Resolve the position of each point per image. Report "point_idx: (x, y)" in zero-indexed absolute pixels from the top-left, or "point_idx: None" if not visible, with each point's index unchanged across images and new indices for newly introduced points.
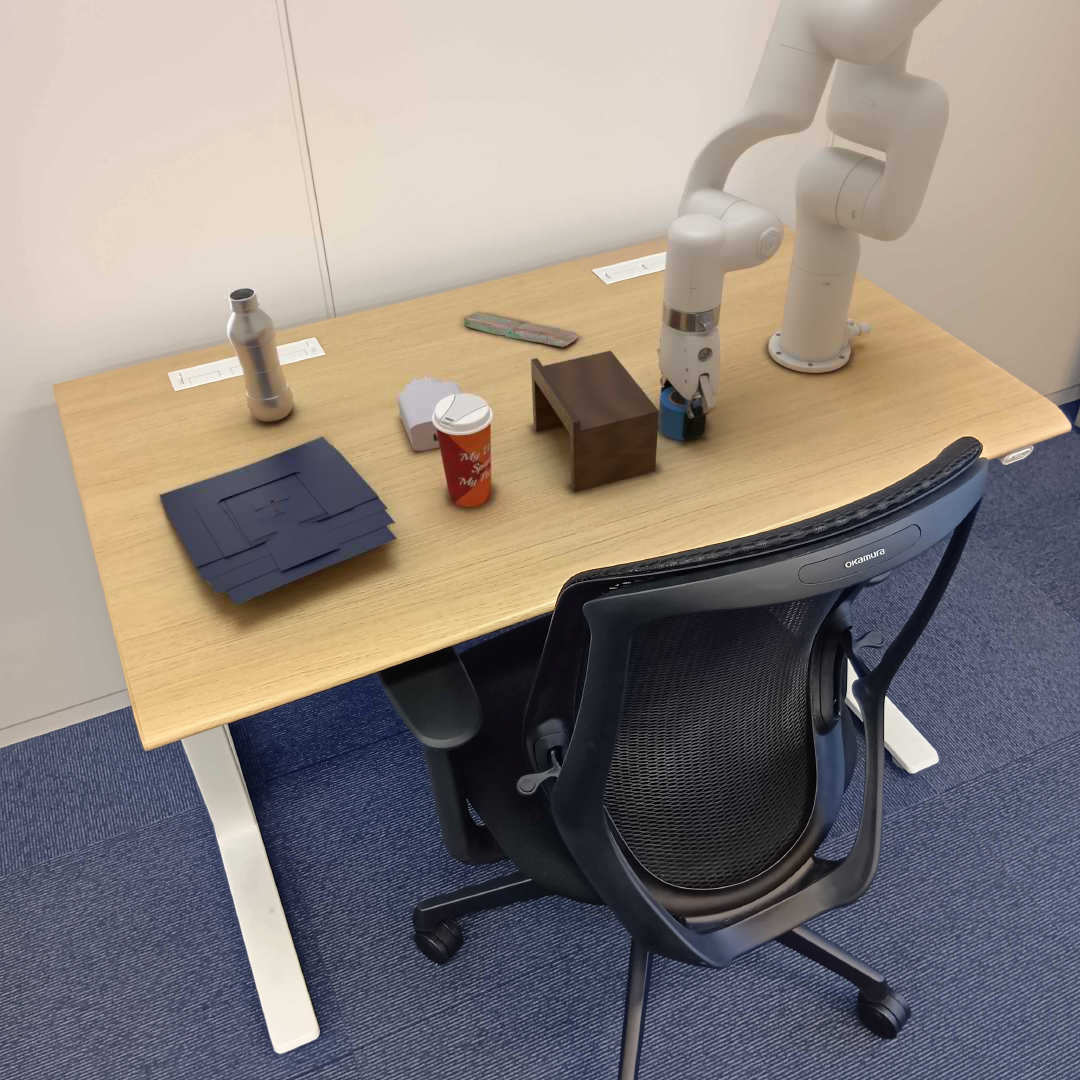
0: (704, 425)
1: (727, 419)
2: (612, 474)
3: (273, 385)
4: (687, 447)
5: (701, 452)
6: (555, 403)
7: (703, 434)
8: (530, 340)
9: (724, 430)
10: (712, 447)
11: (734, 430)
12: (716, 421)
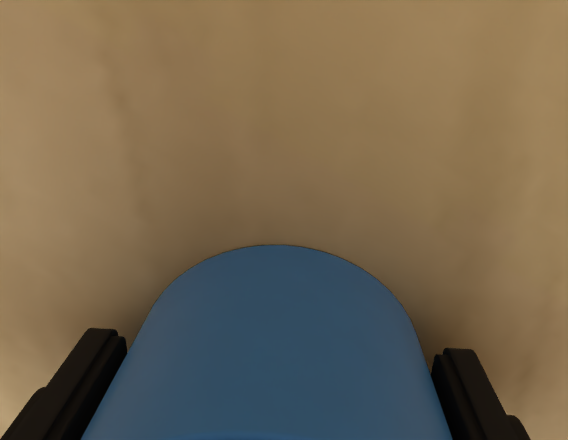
0: (497, 405)
1: (344, 62)
2: None
3: None
4: None
5: (558, 387)
6: None
7: (471, 351)
8: None
9: (453, 157)
10: (561, 316)
11: (496, 88)
12: (328, 153)
